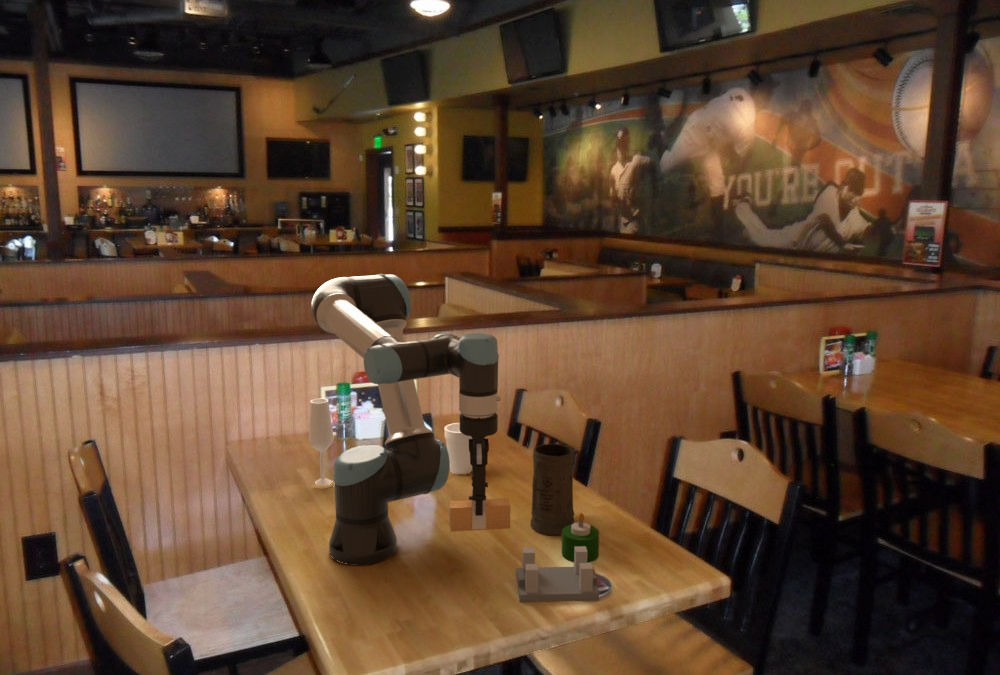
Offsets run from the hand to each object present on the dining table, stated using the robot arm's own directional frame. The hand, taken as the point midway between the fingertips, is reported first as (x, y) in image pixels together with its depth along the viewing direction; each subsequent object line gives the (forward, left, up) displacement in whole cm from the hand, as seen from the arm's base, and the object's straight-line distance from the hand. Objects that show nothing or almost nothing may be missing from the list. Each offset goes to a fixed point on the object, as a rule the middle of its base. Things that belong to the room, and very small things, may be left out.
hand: (478, 523), depth 156 cm
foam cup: (-4, +66, -15) cm, 68 cm away
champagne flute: (-42, +57, -15) cm, 72 cm away
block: (0, 0, -1) cm, 1 cm away
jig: (+16, 0, -14) cm, 22 cm away
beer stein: (+19, +31, -15) cm, 39 cm away
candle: (+23, +14, -15) cm, 31 cm away
